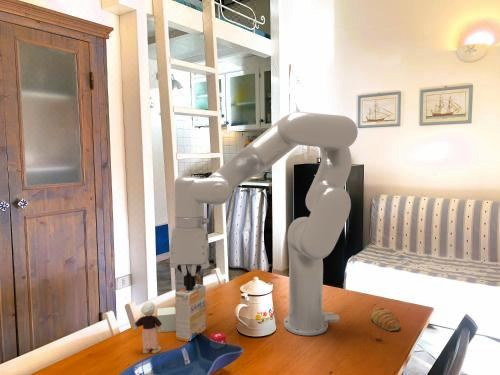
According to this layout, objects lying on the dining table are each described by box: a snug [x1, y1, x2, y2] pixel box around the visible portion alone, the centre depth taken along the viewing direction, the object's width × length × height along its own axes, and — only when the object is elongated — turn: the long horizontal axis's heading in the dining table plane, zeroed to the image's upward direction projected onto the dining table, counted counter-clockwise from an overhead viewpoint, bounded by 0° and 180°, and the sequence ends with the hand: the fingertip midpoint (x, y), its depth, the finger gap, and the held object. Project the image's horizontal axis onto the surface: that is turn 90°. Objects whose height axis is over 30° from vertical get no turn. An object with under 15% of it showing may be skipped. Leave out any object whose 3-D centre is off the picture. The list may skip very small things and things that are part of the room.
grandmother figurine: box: [133, 301, 165, 354], centre depth 95 cm, size 8×4×13 cm, turn 98°
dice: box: [209, 331, 227, 344], centre depth 97 cm, size 3×3×3 cm
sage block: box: [156, 306, 176, 334], centre depth 108 cm, size 5×5×5 cm
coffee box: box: [174, 265, 204, 293], centre depth 121 cm, size 9×6×16 cm
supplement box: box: [174, 284, 207, 343], centre depth 103 cm, size 8×5×13 cm, turn 155°
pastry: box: [370, 306, 401, 332], centre depth 109 cm, size 9×7×4 cm
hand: (189, 288), depth 102 cm, fingers closed
